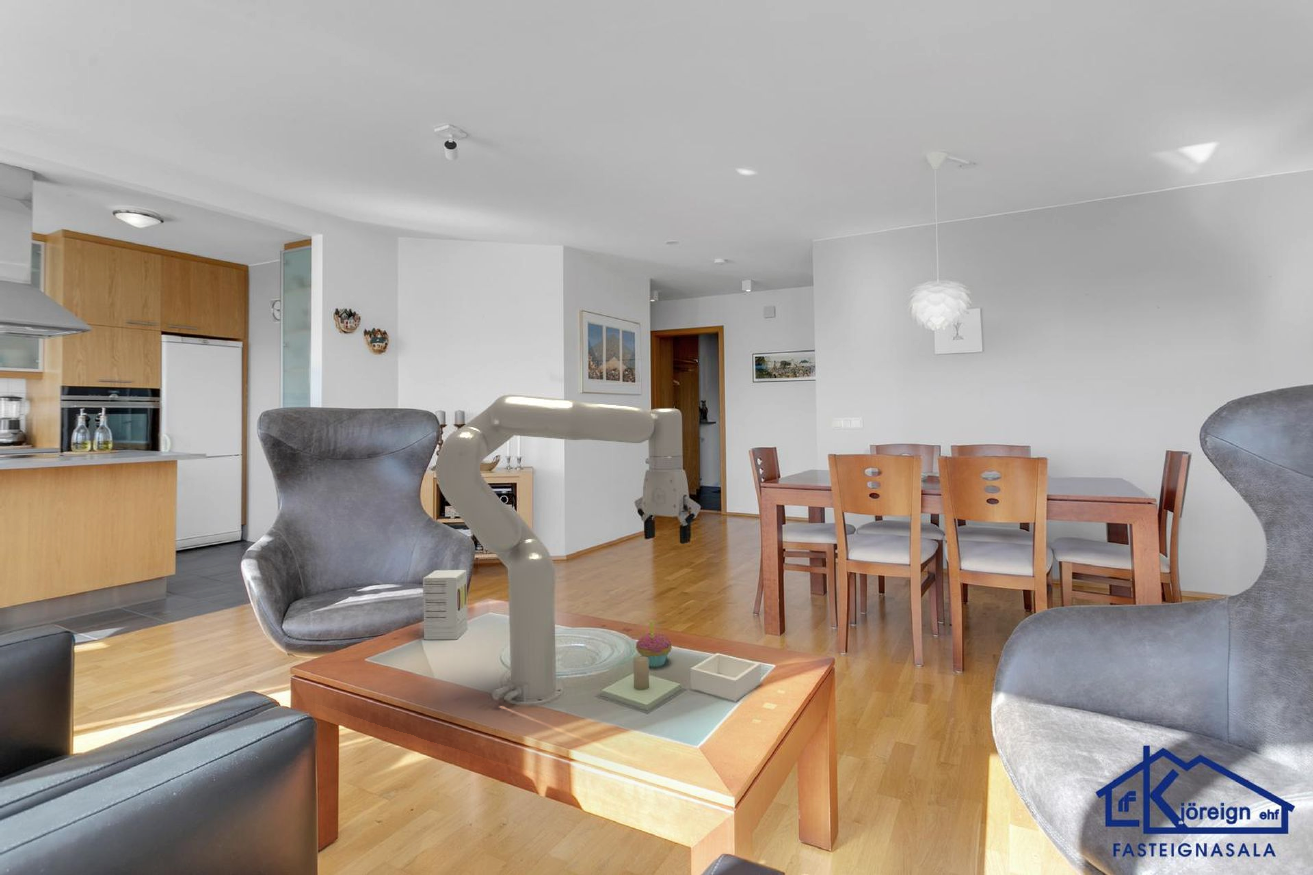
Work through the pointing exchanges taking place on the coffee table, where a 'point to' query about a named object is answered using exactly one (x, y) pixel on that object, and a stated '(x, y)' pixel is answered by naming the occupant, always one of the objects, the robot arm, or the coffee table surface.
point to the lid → (641, 687)
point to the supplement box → (445, 604)
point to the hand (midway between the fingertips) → (667, 540)
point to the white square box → (725, 677)
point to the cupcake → (654, 647)
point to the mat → (642, 709)
